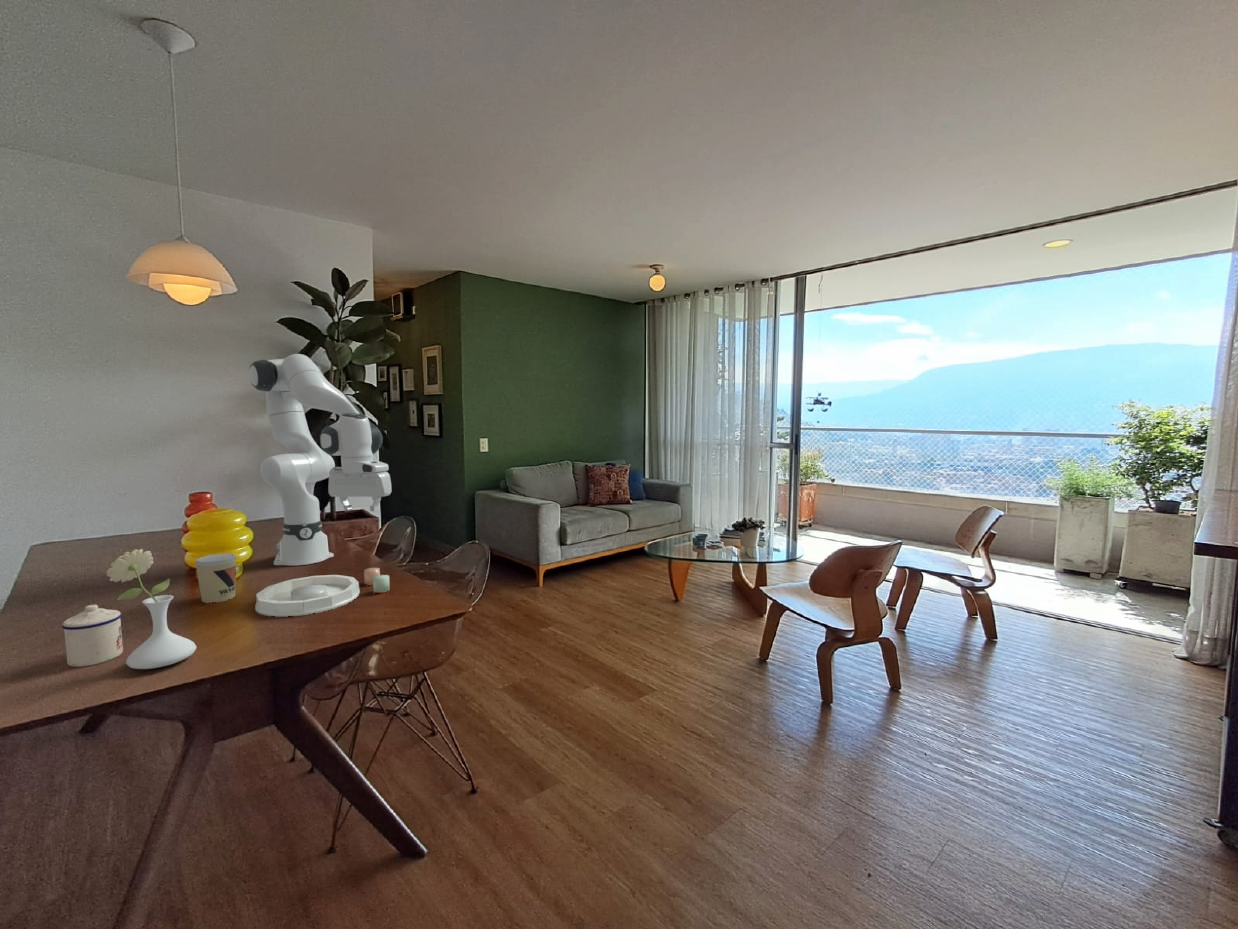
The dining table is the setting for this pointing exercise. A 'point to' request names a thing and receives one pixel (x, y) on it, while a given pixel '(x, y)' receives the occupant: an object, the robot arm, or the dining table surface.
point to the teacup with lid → (93, 636)
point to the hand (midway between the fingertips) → (361, 511)
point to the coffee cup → (217, 577)
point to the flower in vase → (162, 642)
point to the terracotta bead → (371, 575)
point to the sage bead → (381, 583)
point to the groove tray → (305, 607)
